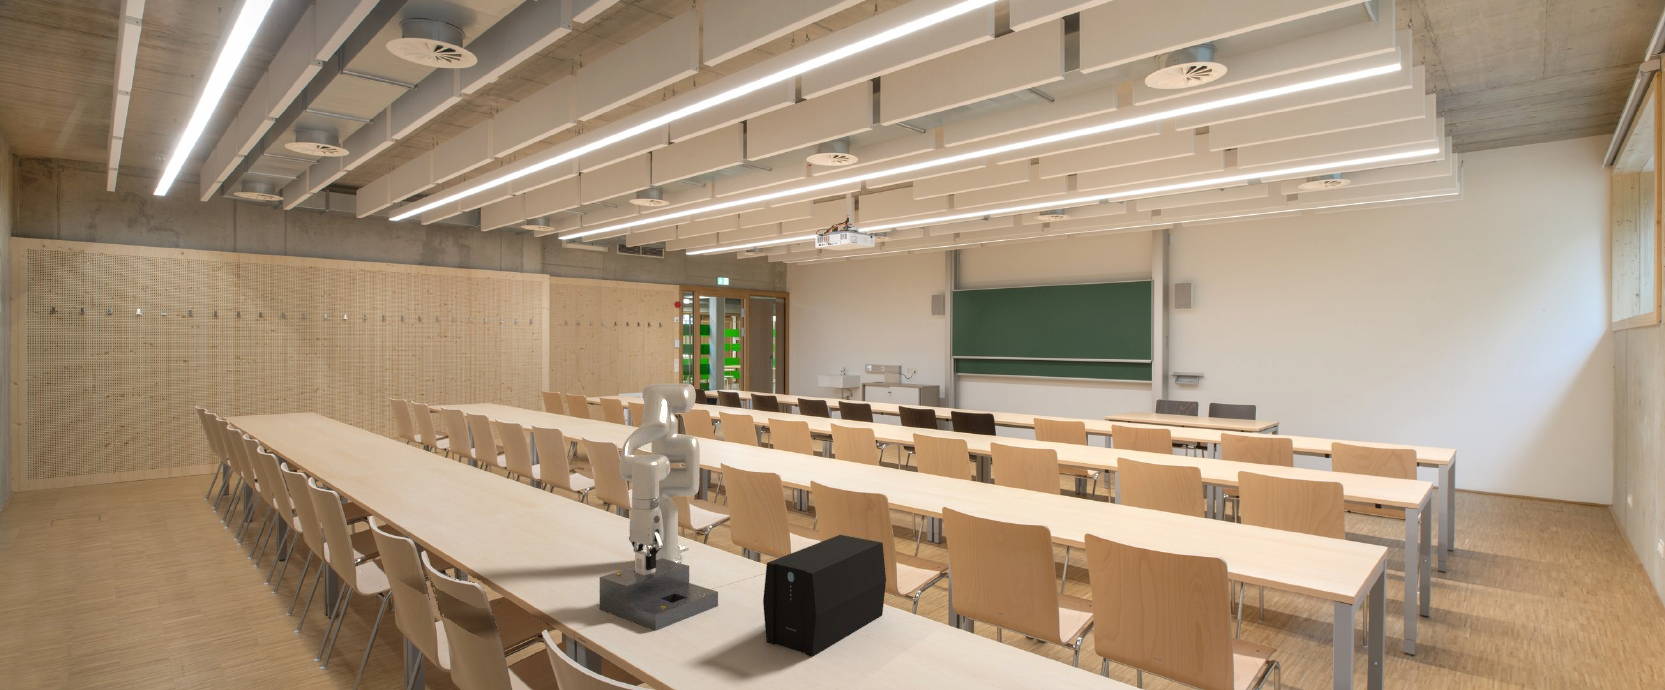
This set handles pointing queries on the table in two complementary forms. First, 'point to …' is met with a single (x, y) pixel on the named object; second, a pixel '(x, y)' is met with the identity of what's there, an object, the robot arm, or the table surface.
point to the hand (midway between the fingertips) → (645, 566)
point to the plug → (642, 563)
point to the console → (655, 595)
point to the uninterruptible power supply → (823, 593)
